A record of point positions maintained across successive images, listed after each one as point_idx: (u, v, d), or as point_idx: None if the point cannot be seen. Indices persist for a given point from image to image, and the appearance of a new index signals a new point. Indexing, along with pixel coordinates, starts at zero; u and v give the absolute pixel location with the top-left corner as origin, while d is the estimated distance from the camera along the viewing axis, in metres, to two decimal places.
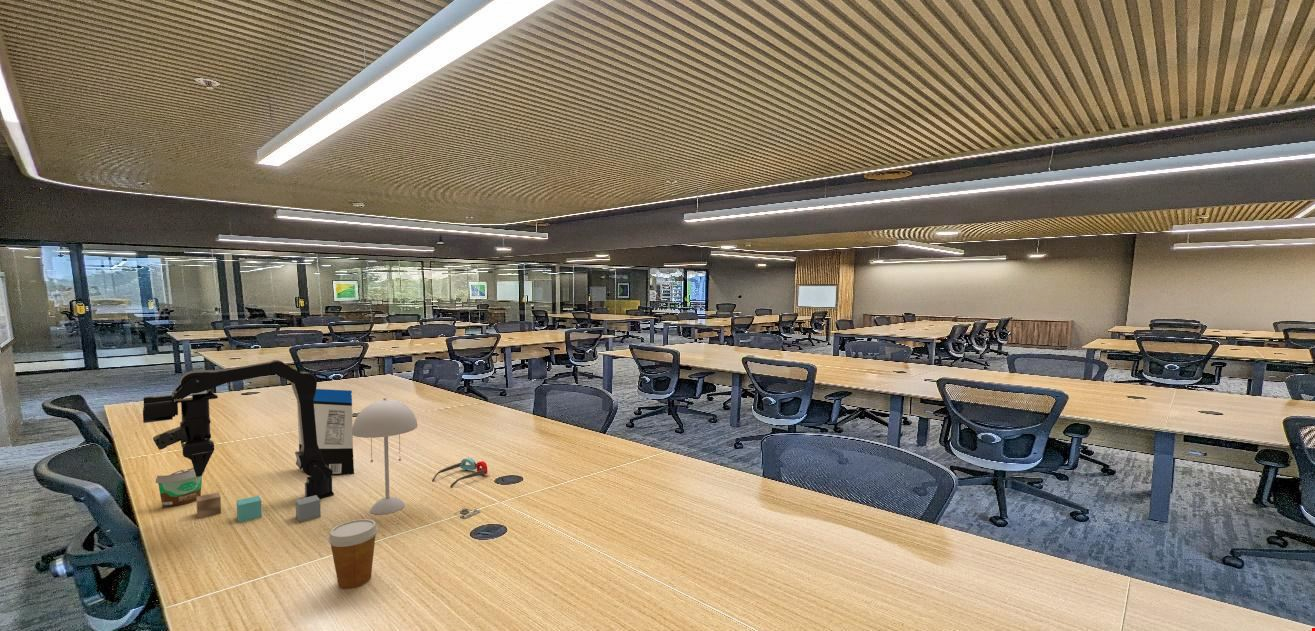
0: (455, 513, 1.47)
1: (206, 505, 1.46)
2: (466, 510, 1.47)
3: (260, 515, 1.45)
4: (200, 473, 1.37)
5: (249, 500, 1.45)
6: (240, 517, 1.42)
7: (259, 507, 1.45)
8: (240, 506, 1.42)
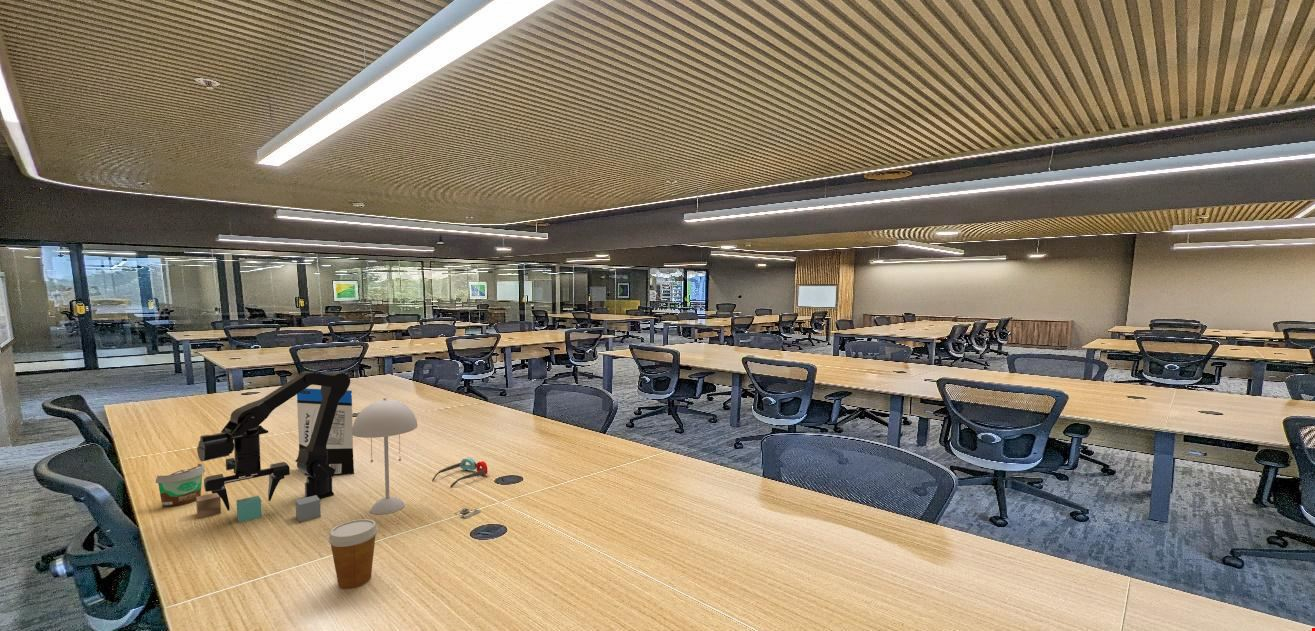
0: (455, 513, 1.47)
1: (206, 505, 1.46)
2: (466, 510, 1.47)
3: (260, 515, 1.45)
4: None
5: (249, 500, 1.45)
6: (240, 517, 1.42)
7: (259, 507, 1.45)
8: (240, 506, 1.42)
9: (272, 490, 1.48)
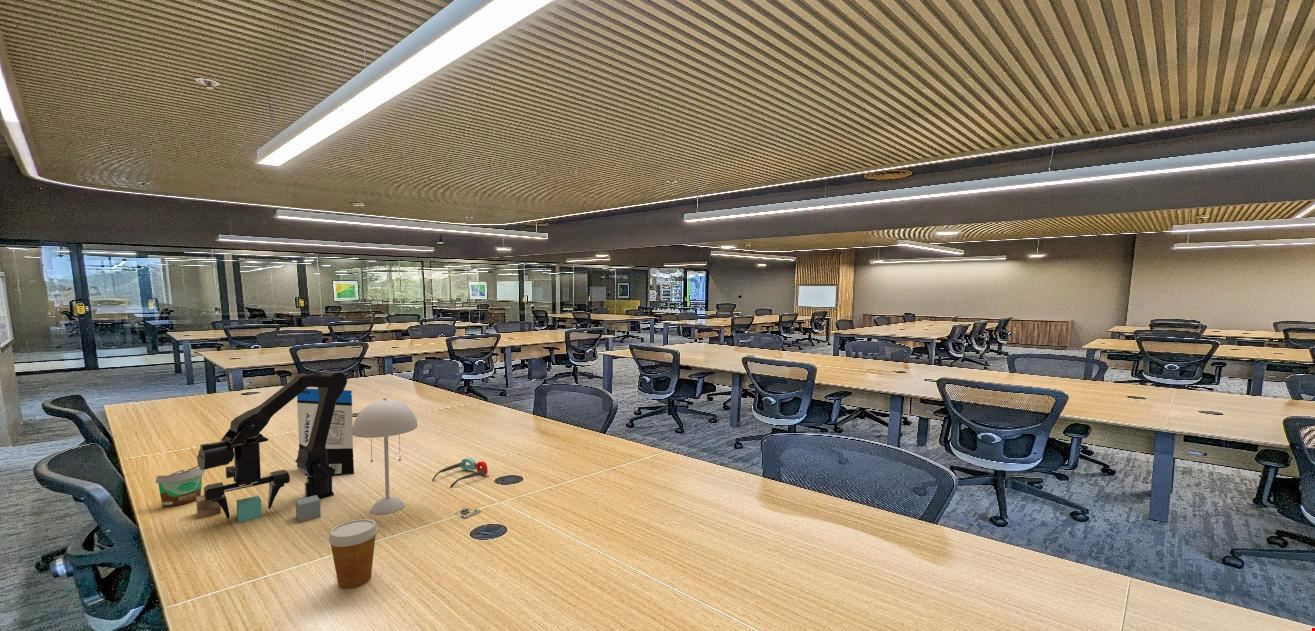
0: (455, 513, 1.47)
1: (206, 505, 1.46)
2: (466, 510, 1.47)
3: (260, 515, 1.45)
4: (226, 516, 1.41)
5: (249, 500, 1.45)
6: (240, 517, 1.42)
7: (259, 507, 1.45)
8: (240, 506, 1.42)
9: (272, 498, 1.48)
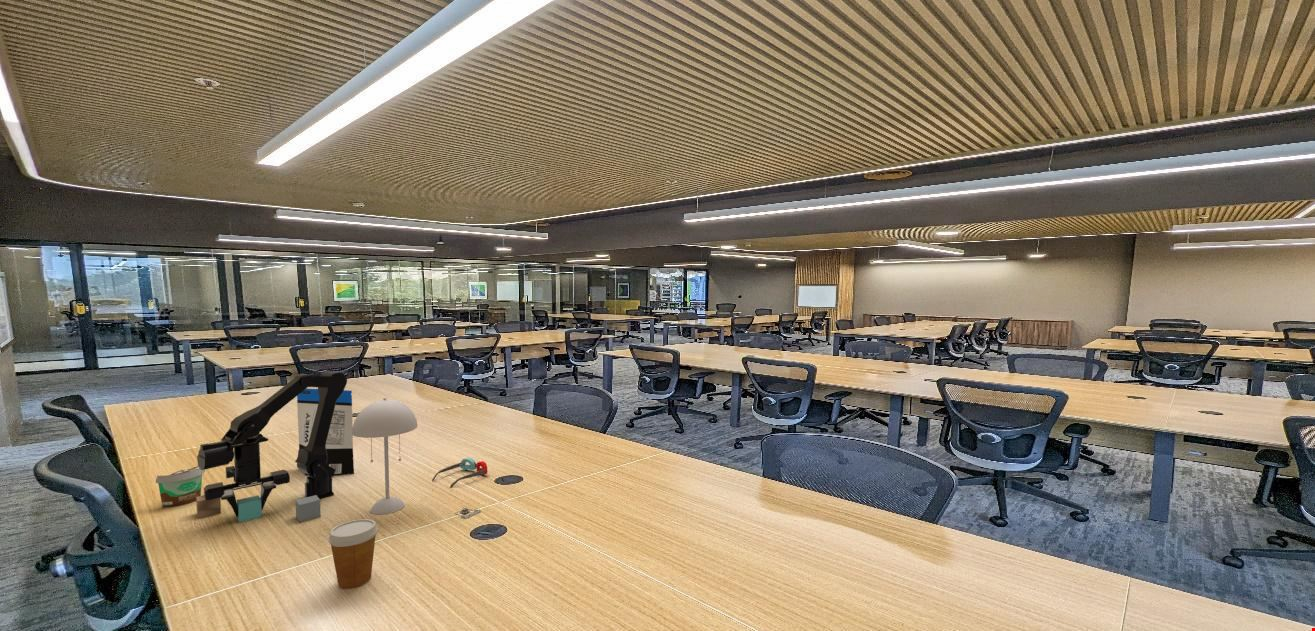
0: (455, 513, 1.47)
1: (206, 505, 1.46)
2: (467, 510, 1.47)
3: (260, 515, 1.45)
4: (235, 514, 1.43)
5: (249, 500, 1.45)
6: (240, 517, 1.42)
7: (259, 507, 1.45)
8: (240, 506, 1.42)
9: (264, 500, 1.46)
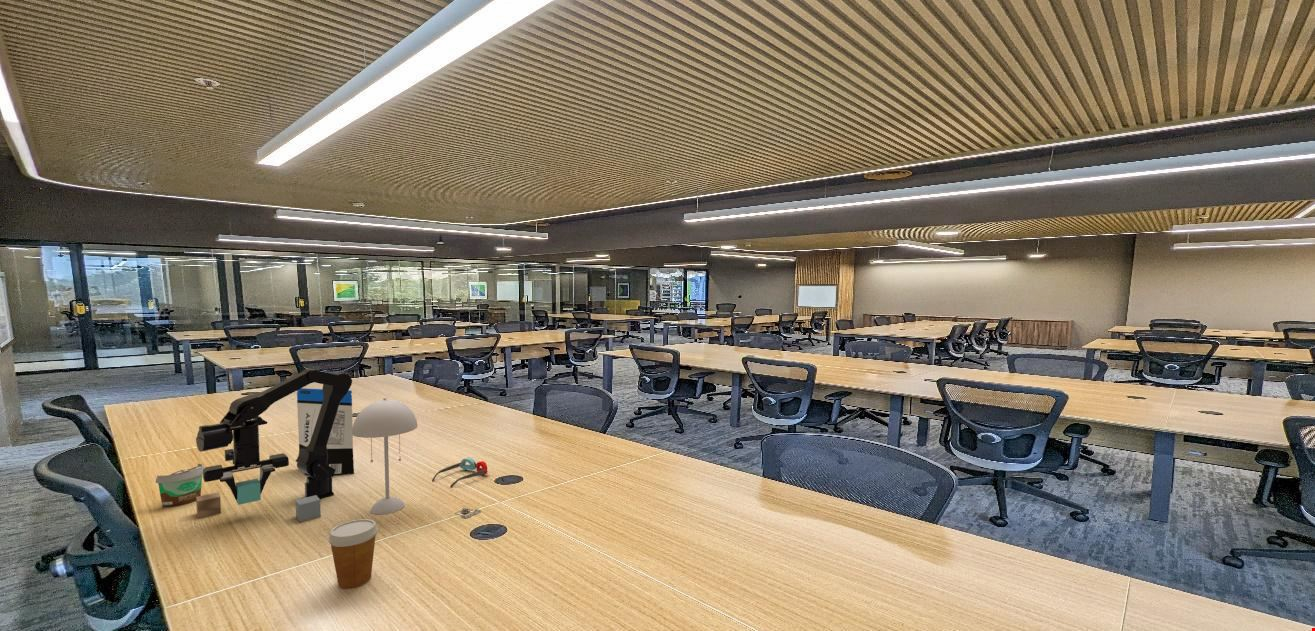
0: (455, 513, 1.47)
1: (206, 505, 1.46)
2: (467, 510, 1.47)
3: (259, 498, 1.45)
4: (234, 496, 1.43)
5: (248, 483, 1.45)
6: (239, 499, 1.42)
7: (258, 489, 1.45)
8: (239, 488, 1.42)
9: (263, 483, 1.46)
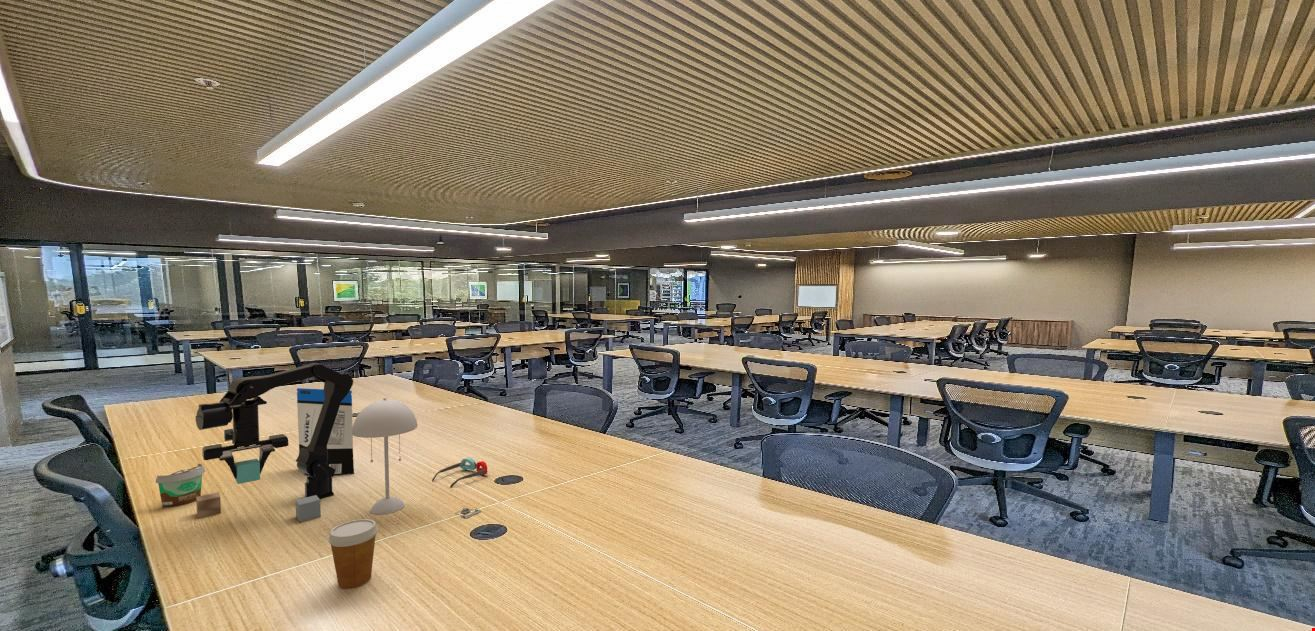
0: (455, 513, 1.47)
1: (206, 505, 1.46)
2: (467, 510, 1.47)
3: (259, 477, 1.45)
4: None
5: (248, 462, 1.44)
6: (238, 478, 1.41)
7: (258, 469, 1.44)
8: (238, 467, 1.41)
9: (262, 463, 1.46)
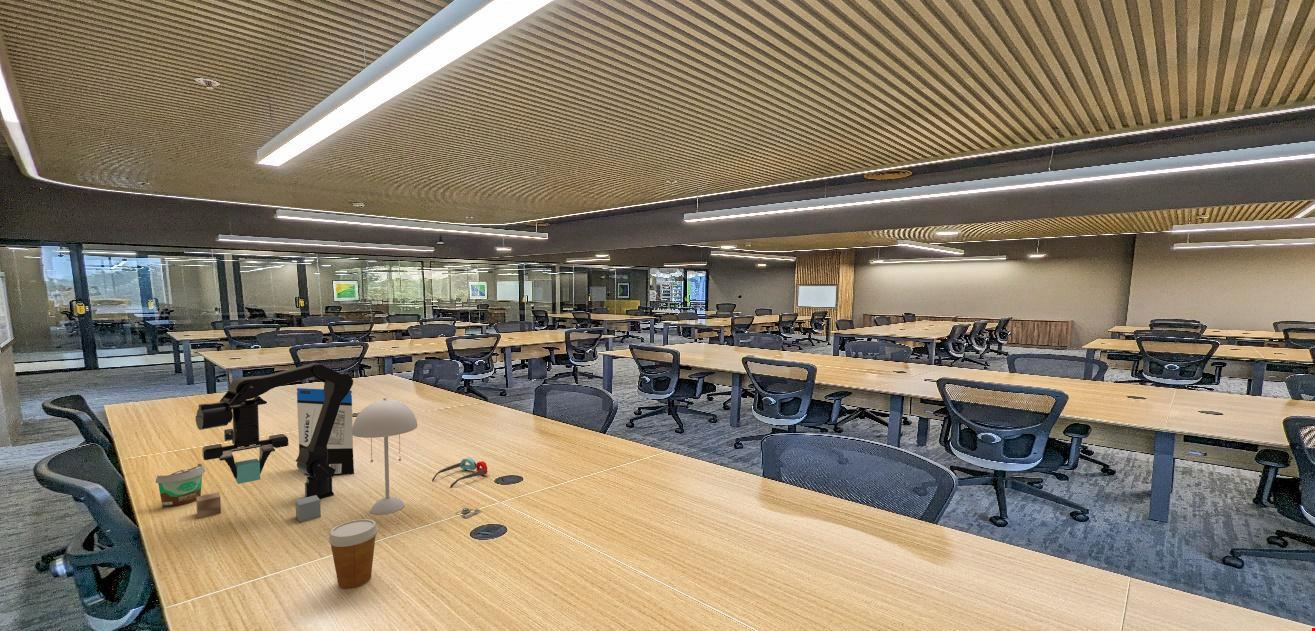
0: (455, 513, 1.47)
1: (206, 505, 1.46)
2: (467, 510, 1.47)
3: (259, 477, 1.45)
4: None
5: (248, 462, 1.44)
6: (239, 478, 1.41)
7: (258, 469, 1.44)
8: (238, 467, 1.41)
9: (262, 463, 1.46)
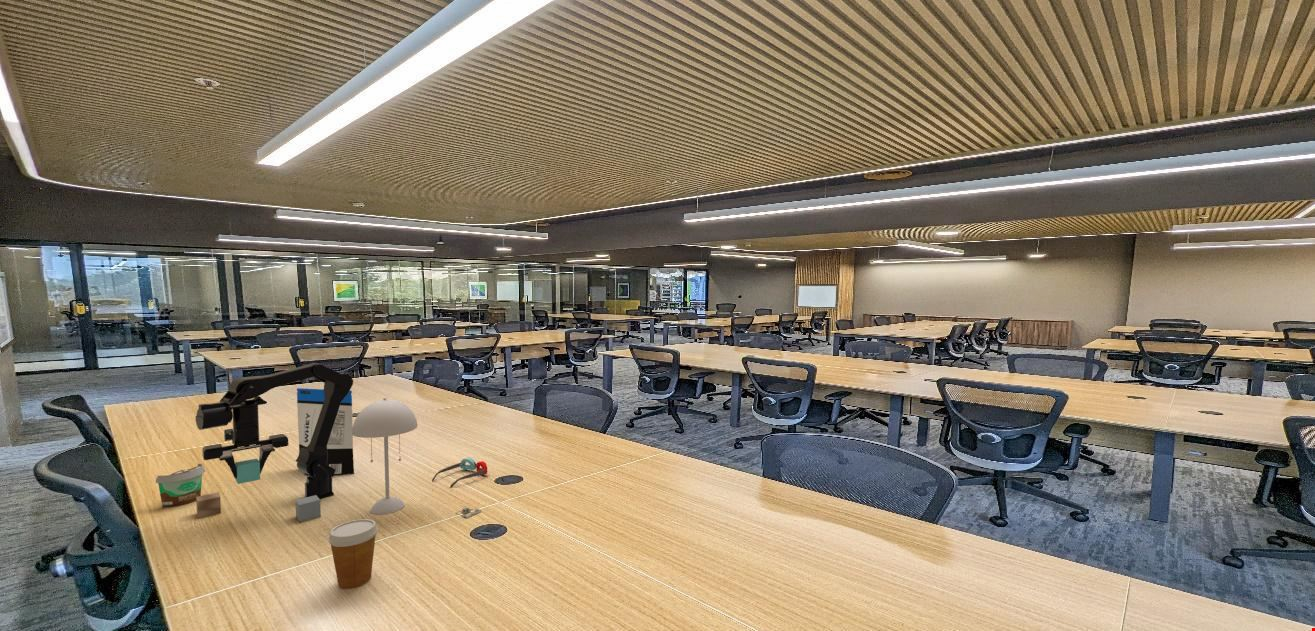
0: (457, 512, 1.47)
1: (206, 505, 1.46)
2: (467, 510, 1.47)
3: (259, 477, 1.45)
4: None
5: (248, 462, 1.44)
6: (239, 478, 1.41)
7: (258, 469, 1.44)
8: (238, 467, 1.41)
9: (262, 463, 1.46)
